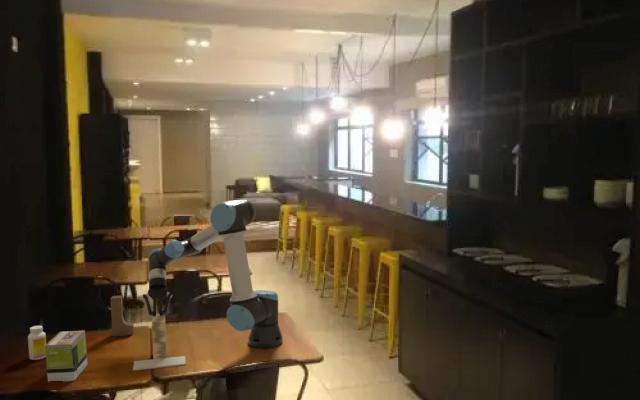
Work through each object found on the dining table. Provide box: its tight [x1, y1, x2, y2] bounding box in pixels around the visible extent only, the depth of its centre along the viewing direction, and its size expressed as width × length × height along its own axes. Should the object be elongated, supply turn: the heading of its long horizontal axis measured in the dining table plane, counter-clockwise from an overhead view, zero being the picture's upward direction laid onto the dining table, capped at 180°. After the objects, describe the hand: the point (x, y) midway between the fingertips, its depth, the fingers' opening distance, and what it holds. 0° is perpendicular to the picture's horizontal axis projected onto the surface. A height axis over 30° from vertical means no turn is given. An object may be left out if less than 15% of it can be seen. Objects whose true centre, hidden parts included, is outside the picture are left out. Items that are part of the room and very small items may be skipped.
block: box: [151, 315, 167, 359], centre depth 227 cm, size 5×8×16 cm, turn 15°
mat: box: [132, 355, 187, 371], centre depth 220 cm, size 20×8×1 cm, turn 105°
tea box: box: [45, 329, 89, 383], centre depth 211 cm, size 15×10×15 cm, turn 5°
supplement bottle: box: [27, 325, 47, 361], centre depth 227 cm, size 7×7×13 cm
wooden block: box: [110, 295, 135, 337], centre depth 253 cm, size 9×4×18 cm, turn 102°
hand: (158, 329), depth 232 cm, fingers closed
